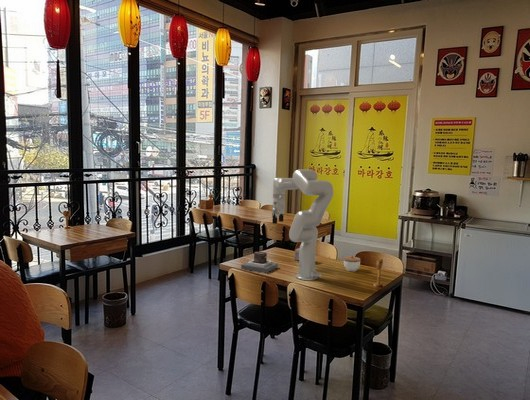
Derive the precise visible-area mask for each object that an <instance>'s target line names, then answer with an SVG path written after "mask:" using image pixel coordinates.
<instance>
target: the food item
mask: <svg viewBox="0 0 530 400" xmlns="http://www.w3.org/2000/svg"><path fill="white" fill-rule="evenodd" d="M299 249H300V247H297V248H296V249H294V260H295V261H297V260H299Z"/></svg>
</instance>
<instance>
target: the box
mask: <svg viewBox="0 0 530 400" xmlns="http://www.w3.org/2000/svg"><path fill="white" fill-rule="evenodd" d="M267 255H268V254H267V252H264V251H254V252H253V260H254V263H258V264H265V263H267V260H268V258H267V257H268V256H267Z"/></svg>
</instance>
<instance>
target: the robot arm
mask: <svg viewBox="0 0 530 400" xmlns="http://www.w3.org/2000/svg"><path fill="white" fill-rule="evenodd" d="M272 181H273V184H272V185H273V186H272V199H273V201H272V211H271V217H272V224H275V225H276V224H278V222H280V223H281V222H282V223H284V216H285V212H286V205H285V191H290V190H293V191H294V190H300V192H301V193H302V194H304V195H306V196H309V197H310V196H311V197H312V196H317V197H316V198H315V199H314V200H313V202H312V203H311V206H310V208H309V209H307V210H306V209H305V210H299V211H298V212H297V213H296V214H295V215H294V218H293V220H292V223H291V225H290V229H289V230H288V231H289V233H288V236H289V240H290V241H291V242H294V243H300V242H301V243H300V246H299V248H300V249H299V261H298V273H296V274H295V278H296V279H298V280H302V281H315V280H317V279H318V278H321V277H322V274H321V272H317V270H316V252H317V251H316V250H317V249H316V248H317V241H318V235H319V231H318V228H317V227H318V226H319V225H320V224H321V222H322V220H323V218H324V215H325V213H326V211H327V209H328V207H329V206H330V203H331V201H332V200H333V196H334V187H333V184H332V183H331V182H330V181H328V180H321V179H318V173H317V172H316V171H315V170H313V169H300V168H299V169H296V170H295V171H294V172H293V173H292V177H275V178H273V180H272Z"/></svg>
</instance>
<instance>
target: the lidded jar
mask: <svg viewBox="0 0 530 400" xmlns="http://www.w3.org/2000/svg"><path fill="white" fill-rule="evenodd" d="M361 259H362V258H360V257H357V256H354V255H350V256H344V257H343V265H344V268H345V269H346V271H348V272H357V271H358V270H359V268H360V266H361V261H362V260H361Z"/></svg>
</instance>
